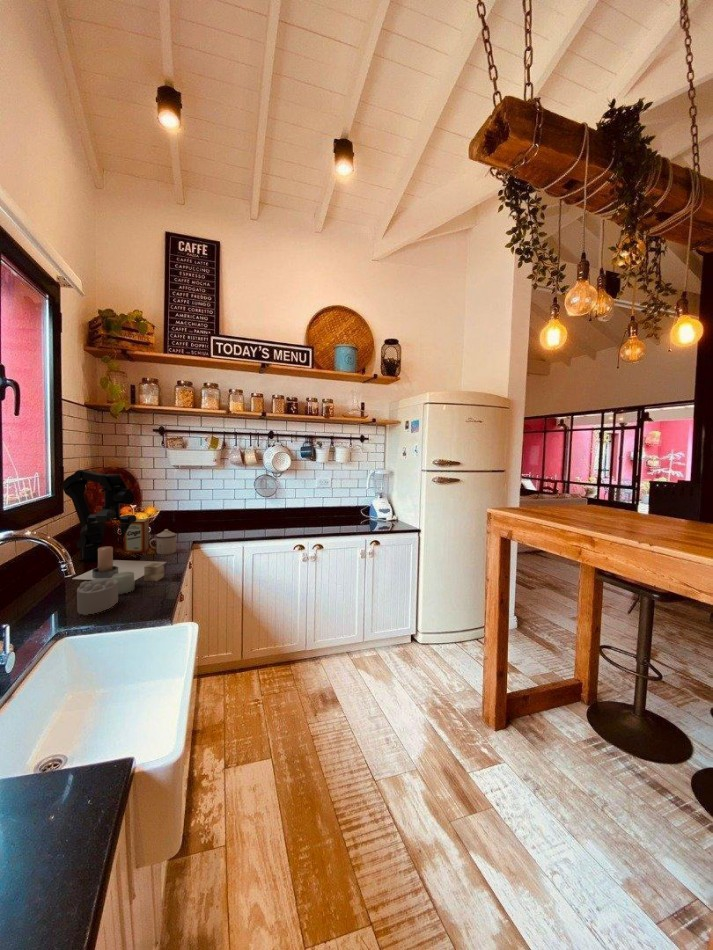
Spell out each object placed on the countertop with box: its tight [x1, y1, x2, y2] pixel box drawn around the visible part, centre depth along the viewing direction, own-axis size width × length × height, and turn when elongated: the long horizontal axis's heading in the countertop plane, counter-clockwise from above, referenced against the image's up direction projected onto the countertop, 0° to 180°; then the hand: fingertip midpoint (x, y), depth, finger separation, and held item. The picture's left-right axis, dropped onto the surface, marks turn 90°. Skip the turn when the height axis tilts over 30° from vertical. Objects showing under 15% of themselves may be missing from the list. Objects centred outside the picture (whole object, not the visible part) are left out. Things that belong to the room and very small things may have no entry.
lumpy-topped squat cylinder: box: [76, 578, 119, 616], centre depth 132 cm, size 10×13×9 cm
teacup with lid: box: [149, 528, 177, 555], centre depth 199 cm, size 12×9×12 cm
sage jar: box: [112, 572, 136, 595], centre depth 147 cm, size 7×7×6 cm
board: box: [72, 559, 167, 584], centre depth 166 cm, size 24×26×2 cm
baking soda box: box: [123, 518, 150, 554], centre depth 200 cm, size 10×6×16 cm
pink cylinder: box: [97, 545, 114, 572], centre depth 159 cm, size 5×5×11 cm
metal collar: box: [92, 566, 118, 578], centre depth 159 cm, size 9×9×2 cm
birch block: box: [143, 563, 165, 582], centre depth 157 cm, size 5×5×7 cm
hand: (112, 537), depth 178 cm, fingers open, 9 cm apart
